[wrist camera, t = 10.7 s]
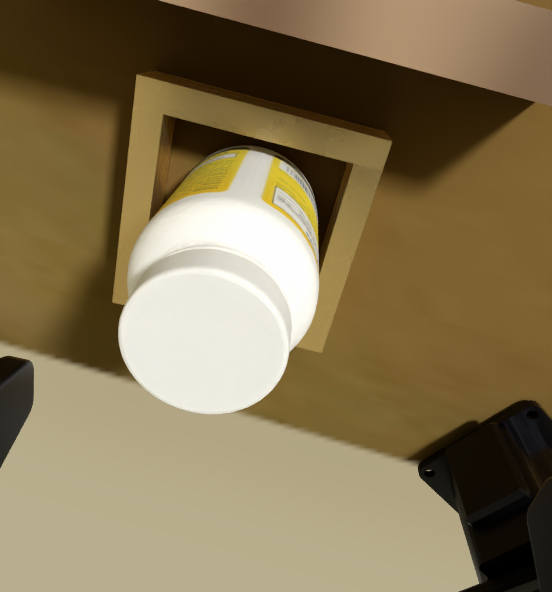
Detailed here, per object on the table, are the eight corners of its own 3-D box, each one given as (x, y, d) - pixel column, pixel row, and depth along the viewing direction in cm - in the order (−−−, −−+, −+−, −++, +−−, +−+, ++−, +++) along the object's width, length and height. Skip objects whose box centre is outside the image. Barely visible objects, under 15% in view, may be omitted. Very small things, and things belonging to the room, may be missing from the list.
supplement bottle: (169, 254, 22) (70, 403, 13) (197, 124, 19) (100, 199, 11) (294, 291, 22) (280, 461, 13) (337, 168, 20) (355, 276, 11)
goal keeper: (385, 130, 19) (392, 141, 17) (321, 327, 23) (321, 352, 21) (154, 70, 18) (136, 74, 17) (128, 280, 22) (112, 302, 21)
